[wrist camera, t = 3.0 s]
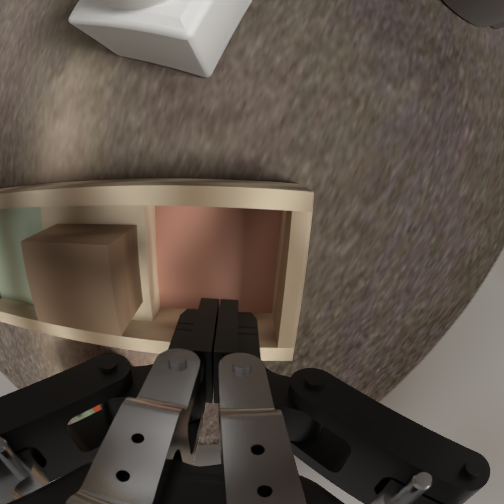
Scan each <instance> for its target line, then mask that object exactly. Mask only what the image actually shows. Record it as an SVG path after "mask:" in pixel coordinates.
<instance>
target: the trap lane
mask: <svg viewBox="0 0 504 504" xmlns="http://www.w3.org/2000/svg"><path fill="white" fill-rule="evenodd" d="M313 200H314V192H313V191H311V190H309V189H307V188H306V187H304V186H302V185H300V184H297V183H284V182H269V181H251V180H229V179H192V178H145V179H109V180H88V181H72V182H58V183H46V184H36V185H26V186H17V187H9V188H1V189H0V321H1V322H5V323H8V324H11V325H15V326H18V327H22V328H26V329H29V330H33V331H37V332H41V333H45V334H49V335H54V336H58V337H62V338H67V339H72V340H76V341H81V342H86V343H92V344H97V345H103V346H109V347H115V348H121V349H128V350H135V351H142V352H150V353H158V354H161V353H162V352H164V351H166V350H168V348H169V345H170V342H171V339H172V336H173V333H174V331H175V328H176V325H177V322H178V319H179V317H180V314H182V313H183V312H184V311H185V310H187V309H198V308H199V304H200V300H201V298H215V299H219V307H220V300H221V299H233V300H238V312H251V313H252V314H253V315H254V316H255V317H256V319H257V324H258V335H259V344H260V354H261V361H292V359H293V353H294V347H295V341H296V334H297V328H298V322H299V315H300V308H301V301H302V294H303V287H304V280H305V272H306V264H307V256H308V247H309V239H310V230H311V220H312V210H313ZM56 224H120V225H137V238H138V254H139V267H140V278H141V288H142V297H143V302H142V304H141V306H140V307H139V309H138V310H137V312H136V313H135V315H134V317H133V318H132V320H131V321H130V323H129V325H128V326H127V328H126V329H125V331H124V333H123V334H122V336H115V335H109V334H102V333H96V332H90V331H85V330H79V329H74V328H69V327H63V326H59V325H54V324H49V323H45V322H40V321H38V318H37V315H36V312H35V308H34V304H33V301H32V297H31V293H30V288H29V284H28V280H27V275H26V270H25V265H24V260H23V254H22V248H21V242H20V241H22V240H24V239H26V238H28V237H30V236H32V235H34V234H36V233H38V232H41V231H43V230H45V229H47V228H49V227H51V226H53V225H56Z"/></svg>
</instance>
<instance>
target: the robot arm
mask: <svg viewBox="0 0 504 504" xmlns="http://www.w3.org/2000/svg"><path fill="white" fill-rule="evenodd" d="M443 1H444V2H445V3H446V4H447V5H448V6H449V7H450V8H451V9H452V10H453V11H454V12H455V13H457V14H458V15H459V16H461V17H462V18H463V19H465V20H466V21H468V22H470V23H472V24H474V25H476V26H479V27H486V26H492V27H493V28H495V29H499V28H502V27H504V0H443ZM213 389H214V403H219V441H220V458H221V464H218V465H211V466H201V467H199V466H194V459H195V454H196V449H197V445H198V441H199V436H200V432H201V427H202V423H203V413H204V410H205V402H208V403H212V400H213ZM98 405H100V407H101V410H99V411H97V412H95V413H93V414H91V415H89V416H87V417H85V418H83V419H81V420H79V421H77V422H75V423H73V424H71V425H67V424H68V422H69V421H70V420H71V419H72V418H74V417H76V416H78V415H80V414H82V413H84V412H86V411H88V410H90V409H92V408H94V407H96V406H98ZM293 454H294V455H295V456H297V457H298V458H299V459H300V460H302V461H303V462H304V463H306V464H307V465H308V466H309V467H311V468H312V469H314V470H315V471H316V472H318V473H319V474H321V475H322V476H323V477H325V478H326V479H328V480H329V481H330V482H332V483H333V484H335V485H336V486H338V487H339V488H341V489H342V490H344V491H345V492H347V493H348V494H350V495H351V496H353V497H355V498H356V499H358V500H359V501H361V502H362V503H364V504H463V503H464V502H465V501H467V500H468V499H469V498H470V497H471V496H473V495H474V494H475V493H476V492H477V491H479V490H480V489H481V488H482V487H483V486H484V485H485V484H486V483H487V481H488V479H489V477H490V467H489V464H488V462H487V460H486V459H485V458H484V457H483V456H482V455H481V454H479V453H477V452H475V451H473V450H471V449H469V448H466V447H464V446H462V445H460V444H458V443H456V442H453V441H452V440H450V439H447V438H445V437H443V436H441V435H439V434H437V433H435V432H433V431H431V430H429V429H427V428H425V427H423V426H422V425H420V424H418V423H416V422H414V421H412V420H410V419H408V418H406V417H404V416H402V415H401V414H399V413H397V412H395V411H393V410H391V409H390V408H388V407H386V406H384V405H382V404H381V403H379V402H377V401H375V400H374V399H372V398H370V397H368V396H367V395H365V394H363V393H361V392H360V391H358V390H356V389H354V388H353V387H351V386H349V385H348V384H346V383H344V382H343V381H341V380H339V379H338V378H336V377H334V376H333V375H331V374H329V373H328V372H326V371H323V370H320V369H316V368H305V369H301V370H298V371H297V372H295V373H294V374H293V375H292V377H287V376H283V375H279V374H276V373H273V372H271V371H270V370H268V369H267V368H266V367H265V366H264V363H263V362H262V361H261V354H260V344H259V335H258V324H257V319H256V317H255V316H254V315H253V314H252V313H251V312H238V300H233V299H221V300H220V307H219V299H215V298H201V300H200V304H199V308H198V309H187V310H185V311H184V312H183V313H182V314H180V317H179V319H178V322H177V325H176V328H175V331H174V333H173V336H172V339H171V342H170V345H169V348H168V350H166V351H164V352H162V353H161V354H159V355H158V356H157V358H156V360H155V362H154V364H151V365H147V366H137V367H130V363H129V361H128V360H127V359H126V358H125V357H123V356H121V355H117V354H104V355H100V356H97V357H95V358H93V359H91V360H88V361H86V362H84V363H81V364H79V365H77V366H75V367H72V368H70V369H68V370H65V371H63V372H60V373H58V374H56V375H53V376H51V377H49V378H46V379H44V380H41V381H39V382H37V383H34V384H32V385H29V386H27V387H24V388H22V389H19V390H17V391H14V392H12V393H9V394H7V395H5V396H2V397H0V504H344V503H343V502H341V501H340V500H339V499H337V498H336V497H335V496H333V495H332V494H331V493H329V492H328V491H326V490H325V489H324V488H322V487H321V486H320V485H318V484H317V483H315V482H313V481H312V480H309V479H307V478H305V477H303V476H299V474H298V470H297V467H296V463H295V459H294V455H293ZM60 477H61V478H60ZM58 478H59V479H58ZM56 479H57V480H56ZM53 480H55V481H53ZM51 481H53V482H51ZM49 482H51V483H49Z"/></svg>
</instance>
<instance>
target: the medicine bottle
mask: <svg viewBox="0 0 504 504" xmlns="http://www.w3.org/2000/svg"><path fill="white" fill-rule="evenodd" d="M251 2H252V0H79V1H78V3H77V5H76V6H75V8H74V9H73V11H72V13H71V15H70V16H69V19H68V20H69V23H70V24H72V25H74V26H75V27H77V28H78V29H80V30H81V31H83V32H84V33H86V34H87V35H89V36H90V37H92V38H93V39H95V40H96V41H98V42H99V43H101V44H102V45H104V46H105V47H107V48H108V49H110V50H111V51H112V52H114V53H115V54H117V55H118V56H122V57H127V58H132V59H137V60H141V61H146V62H150V63H154V64H158V65H162V66H166V67H170V68H174V69H178V70H181V71H185V72H188V73H192V74H195V75H198V76H201V77H206V78H207V77H210V76H211V75H212V73H213V71H214V69H215V67H216V65H217V63H218V61H219V59H220V57H221V55H222V53H223V51H224V49H225V47H226V46H227V44H228V42H229V40H230V38H231V36H232V35H233V33H234V31H235V29H236V27H237V26H238V24H239V22H240V20H241V19H242V17H243V15H244V14H245V12H246V10H247V9H248V7H249V5H250V4H251Z"/></svg>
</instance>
